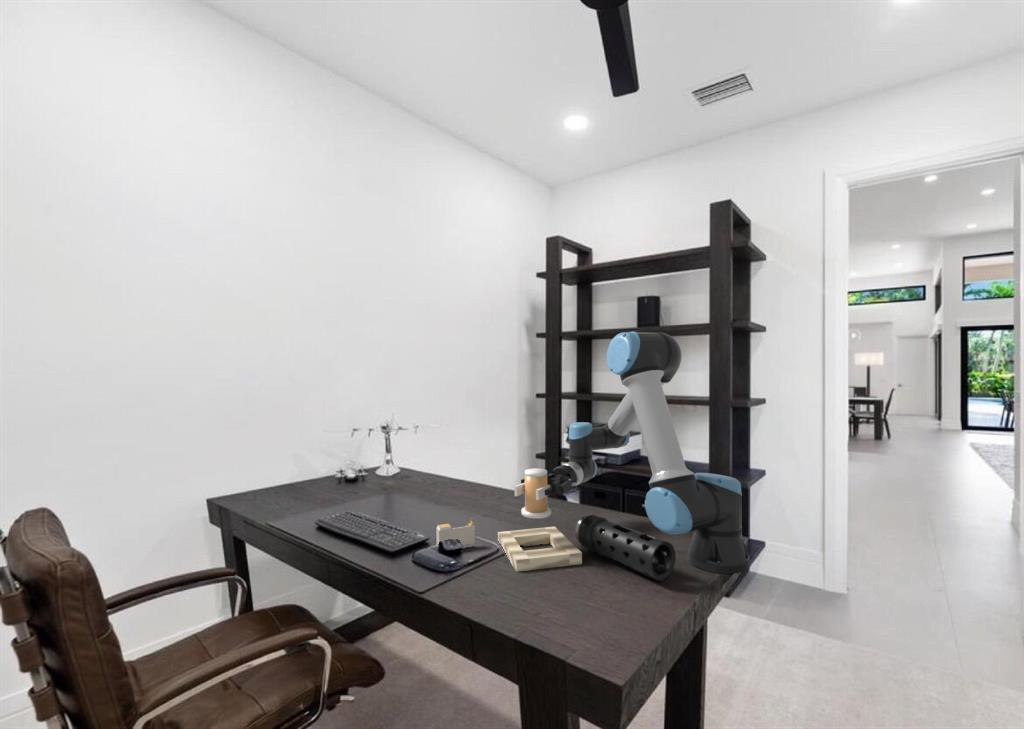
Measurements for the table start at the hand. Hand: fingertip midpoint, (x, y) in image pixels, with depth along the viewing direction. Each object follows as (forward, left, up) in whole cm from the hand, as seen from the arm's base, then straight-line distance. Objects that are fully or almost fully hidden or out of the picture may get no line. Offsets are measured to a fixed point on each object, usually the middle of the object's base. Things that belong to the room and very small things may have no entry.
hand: (526, 493), depth 136 cm
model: (+13, +18, -19) cm, 29 cm away
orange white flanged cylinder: (+3, -4, -7) cm, 9 cm away
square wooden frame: (+3, -4, -18) cm, 19 cm away
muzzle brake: (-11, -23, -18) cm, 31 cm away
